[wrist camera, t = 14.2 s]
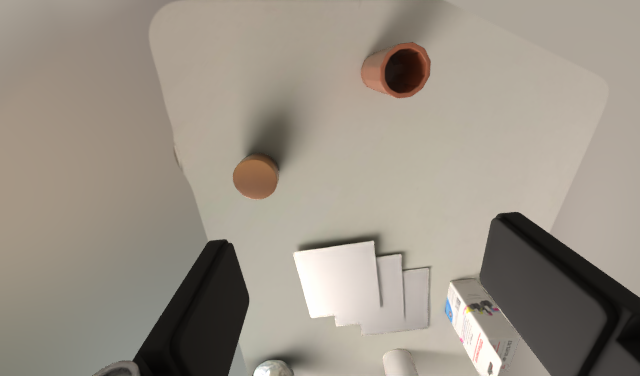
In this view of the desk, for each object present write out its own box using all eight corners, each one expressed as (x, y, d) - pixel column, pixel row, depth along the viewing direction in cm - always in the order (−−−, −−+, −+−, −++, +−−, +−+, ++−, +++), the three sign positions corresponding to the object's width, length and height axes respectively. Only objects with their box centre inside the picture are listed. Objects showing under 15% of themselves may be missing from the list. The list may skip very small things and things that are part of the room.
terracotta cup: (360, 54, 31) (380, 46, 21) (395, 49, 31) (432, 39, 21) (361, 91, 33) (380, 100, 23) (395, 87, 33) (428, 94, 23)
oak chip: (231, 157, 35) (227, 161, 33) (274, 152, 35) (272, 156, 33) (242, 195, 37) (238, 201, 36) (282, 191, 37) (280, 197, 36)
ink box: (469, 309, 51) (523, 394, 37) (444, 311, 51) (489, 396, 38) (476, 277, 47) (539, 359, 34) (449, 279, 47) (500, 362, 34)
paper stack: (428, 229, 42) (430, 232, 42) (427, 327, 53) (429, 331, 52) (293, 249, 44) (292, 252, 43) (318, 341, 54) (318, 344, 54)
